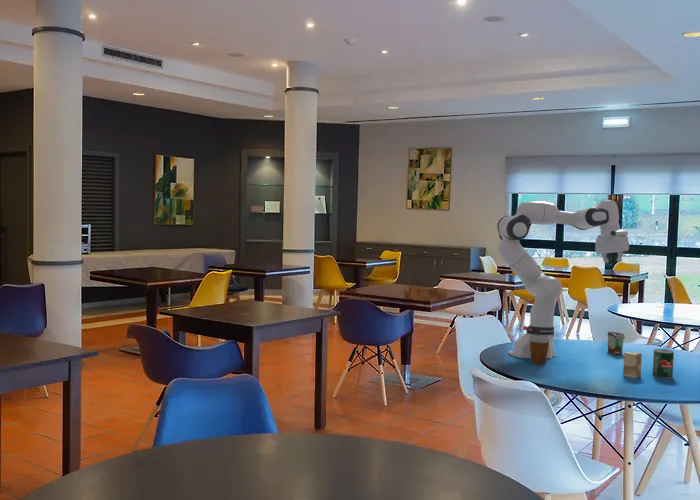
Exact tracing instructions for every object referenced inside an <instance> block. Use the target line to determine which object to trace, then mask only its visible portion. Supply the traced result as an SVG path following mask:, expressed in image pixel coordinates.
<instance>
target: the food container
mask: <svg viewBox="0 0 700 500" xmlns="http://www.w3.org/2000/svg"><path fill="white" fill-rule="evenodd" d="M624 340H626V336H625V334H624V333H622V332H617V331H607V352H608V353H609V354H611V355H614V356H621V355H622V354H623V346H624Z"/></svg>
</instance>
